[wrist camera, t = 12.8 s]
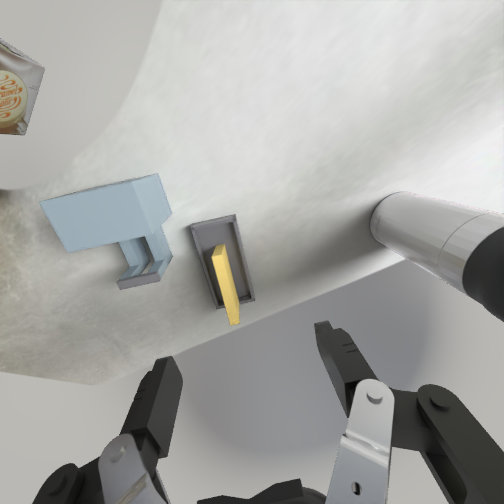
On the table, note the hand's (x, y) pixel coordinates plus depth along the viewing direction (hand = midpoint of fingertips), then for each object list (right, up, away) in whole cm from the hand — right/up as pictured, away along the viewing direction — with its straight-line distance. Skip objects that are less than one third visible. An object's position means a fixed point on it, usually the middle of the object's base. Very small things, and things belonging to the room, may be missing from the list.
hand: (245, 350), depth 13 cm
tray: (-4, +4, +27) cm, 28 cm away
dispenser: (-17, +10, +23) cm, 30 cm away
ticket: (-4, +1, +27) cm, 27 cm away
